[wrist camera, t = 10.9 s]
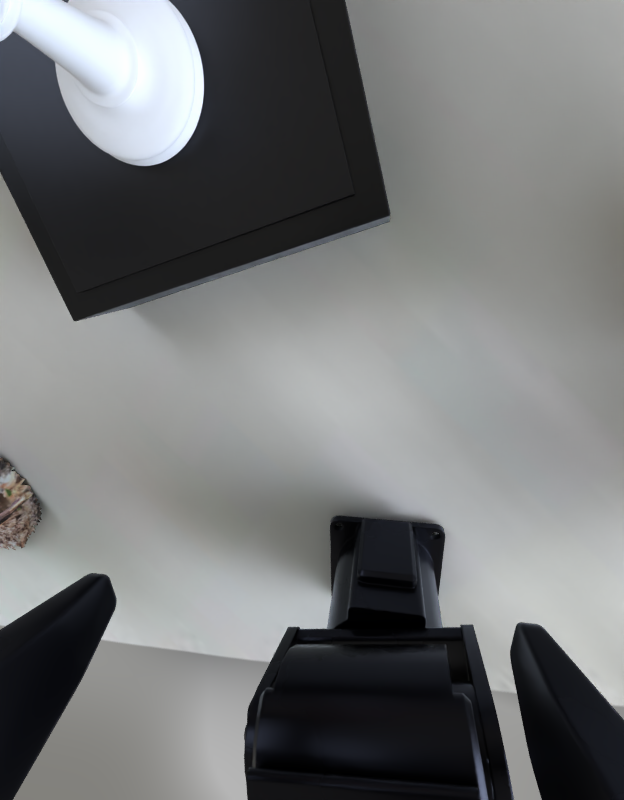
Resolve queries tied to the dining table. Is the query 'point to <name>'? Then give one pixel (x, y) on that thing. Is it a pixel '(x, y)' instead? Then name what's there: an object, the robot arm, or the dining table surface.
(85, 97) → the chess piece
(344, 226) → the stand
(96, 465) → the dining table surface
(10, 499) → the grey mottled stone figure
